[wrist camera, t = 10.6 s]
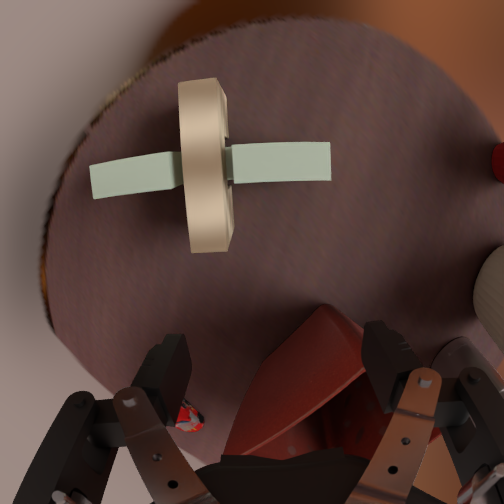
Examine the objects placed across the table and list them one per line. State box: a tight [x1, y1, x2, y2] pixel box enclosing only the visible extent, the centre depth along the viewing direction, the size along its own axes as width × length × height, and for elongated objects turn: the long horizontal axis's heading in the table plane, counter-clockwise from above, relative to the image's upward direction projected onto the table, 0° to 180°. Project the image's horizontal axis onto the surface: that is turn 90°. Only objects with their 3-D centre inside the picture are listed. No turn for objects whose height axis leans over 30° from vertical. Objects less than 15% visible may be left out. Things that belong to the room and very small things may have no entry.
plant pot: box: [223, 304, 442, 460], centre depth 29 cm, size 19×19×17 cm
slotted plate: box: [178, 78, 234, 253], centre depth 25 cm, size 14×3×8 cm, turn 3°
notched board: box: [90, 142, 331, 199], centre depth 25 cm, size 20×3×8 cm, turn 93°
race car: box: [175, 399, 204, 432], centre depth 39 cm, size 13×5×4 cm, turn 26°
